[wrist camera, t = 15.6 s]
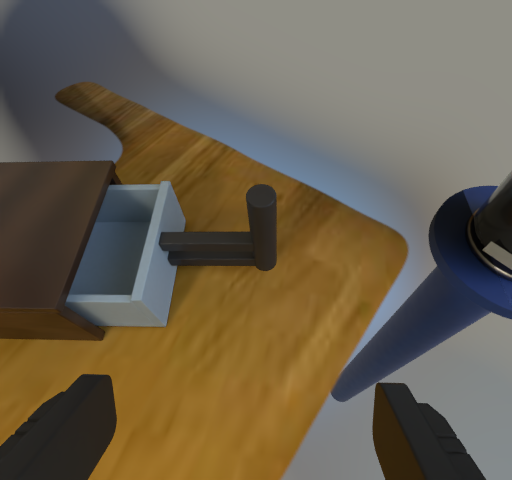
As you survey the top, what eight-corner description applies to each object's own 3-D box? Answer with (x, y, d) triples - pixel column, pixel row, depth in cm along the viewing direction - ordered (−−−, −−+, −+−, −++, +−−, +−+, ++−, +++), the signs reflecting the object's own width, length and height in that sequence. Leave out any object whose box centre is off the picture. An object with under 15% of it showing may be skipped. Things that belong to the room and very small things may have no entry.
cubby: (143, 212, 34) (112, 160, 28) (107, 340, 27) (55, 308, 21) (5, 213, 35) (-54, 162, 29) (-65, 337, 28) (-165, 305, 22)
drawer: (276, 220, 33) (276, 137, 24) (276, 328, 27) (276, 271, 18) (58, 221, 34) (-17, 143, 25) (12, 324, 28) (-108, 269, 19)
